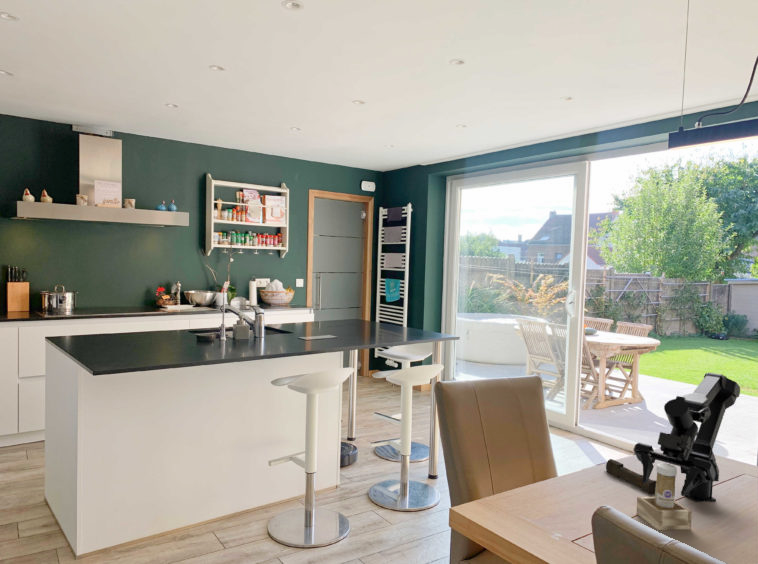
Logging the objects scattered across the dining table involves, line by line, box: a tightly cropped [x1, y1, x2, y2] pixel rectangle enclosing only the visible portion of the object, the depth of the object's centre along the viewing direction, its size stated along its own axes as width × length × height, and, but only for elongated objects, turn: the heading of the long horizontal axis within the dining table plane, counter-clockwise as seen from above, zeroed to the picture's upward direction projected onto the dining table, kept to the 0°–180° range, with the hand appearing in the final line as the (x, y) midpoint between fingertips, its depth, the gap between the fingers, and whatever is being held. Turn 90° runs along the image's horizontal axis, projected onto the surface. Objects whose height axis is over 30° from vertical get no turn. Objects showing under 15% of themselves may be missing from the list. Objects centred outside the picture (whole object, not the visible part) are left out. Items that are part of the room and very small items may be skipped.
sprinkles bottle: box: [654, 462, 678, 510], centre depth 142 cm, size 5×5×13 cm
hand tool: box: [605, 458, 657, 495], centre depth 169 cm, size 19×4×5 cm, turn 18°
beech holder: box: [635, 496, 693, 531], centre depth 142 cm, size 9×9×4 cm
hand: (662, 489), depth 141 cm, fingers open, 9 cm apart
